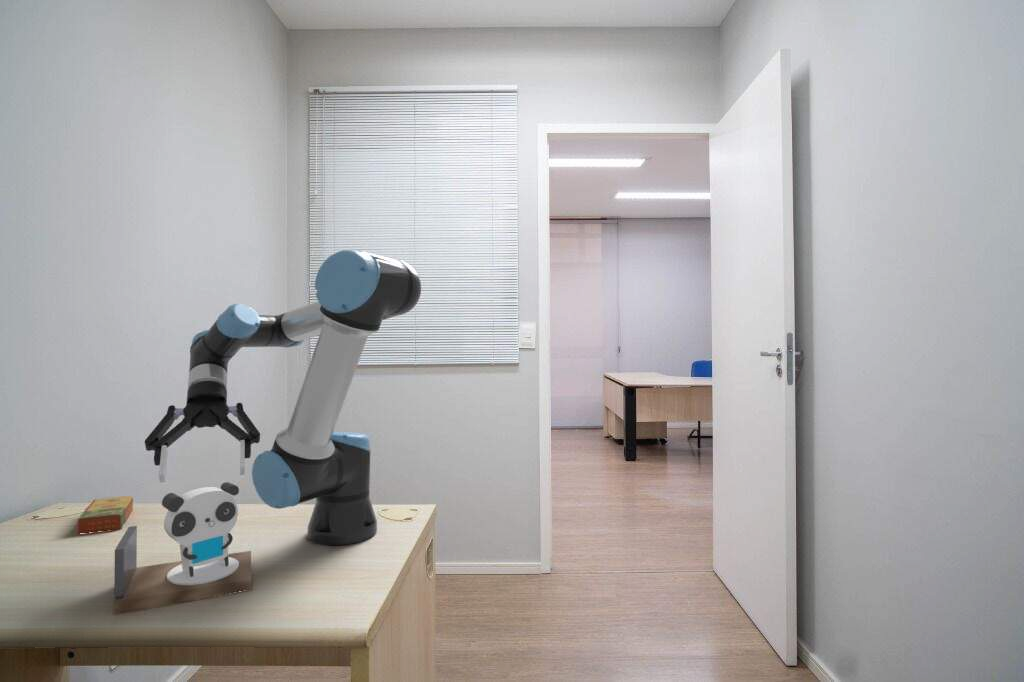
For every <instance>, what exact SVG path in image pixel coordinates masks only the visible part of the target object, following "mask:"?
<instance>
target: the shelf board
mask: <svg viewBox="0 0 1024 682" xmlns="http://www.w3.org/2000/svg"><path fill="white" fill-rule="evenodd" d="M228 557H231V558H234V559H236V560H238V562H239V567H238V569H237V570H236V571H235V572H234V573H232V574H230V575H229V576H226V577H224V578H222V579H219V580H216V581H212V582H208V583H203V584H196V585H177V584H173V583H170V582H169V581H168V580H167V574H168V572H169V571H170V570H172V569H173V568H175V567H176V566H178V565H180V564H182V561H181V560H178V561H173V562H165V563H159V564H152V565H146V566H138V567H137V569H136V572H135V574H134V576H133V578H132V580H131V583H130V585H129V587H128V589H127V591H126V593H125V596H124V598H121V599H115V600H113V602H112V616H113V615H120V614H124V613H125V614H126V613H130V612H136V611H140V610H141V611H142V610H147V609H152V608H153V609H154V608H159V607H160V608H161V607H164V606H165V607H166V606H170V605H174V604H175V605H177V604H182V603H186V602H192V601H198V600H203V599H204V598H205V599H210V598H215V597H214V596H216V597H220V596H219V595H222V596H226V595H225V594H227V595H230V594H229V593H233V594H235V593H234V592H239V591H244V590H250V591H252V590H253V576H252V575H253V573H252V572H253V571H252V568H253V567H252V550H248V551H247V550H246V551H239V552H234V553H228ZM251 589H252V590H251ZM244 592H245V591H244ZM239 593H240V592H239ZM209 597H210V598H209ZM205 599H204V600H205Z"/></svg>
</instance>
